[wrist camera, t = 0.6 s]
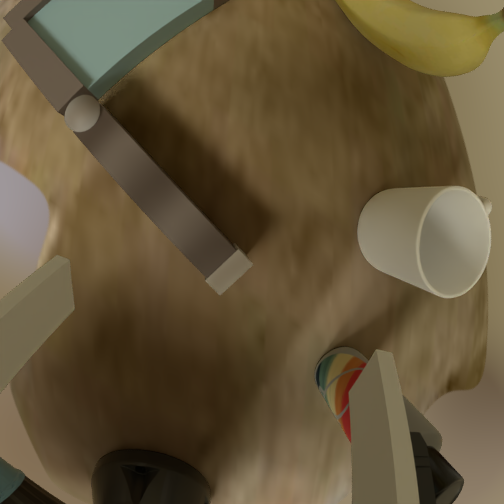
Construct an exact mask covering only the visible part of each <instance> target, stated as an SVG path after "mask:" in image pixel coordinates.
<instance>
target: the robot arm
mask: <svg viewBox="0 0 504 504" xmlns="http://www.w3.org/2000/svg"><path fill="white" fill-rule="evenodd" d="M74 310H75V306H74V298H73V290H72V280H71V269H70V260H69V259H67V258H64V257H62V256H59V255H56V256H55V257H53V258H52V259H51V260H50V261H48V262H47V263H46V264H44V265H43V266H42V267H40V268H39V269H38V270H37V271H35V272H34V273H33V274H32V275H30V276H29V277H28V278H26V279H25V280H24V281H23V282H21V283H20V284H19V285H18V286H16V287H15V288H14V289H13V290H12V291H10V292H9V293H8V294H7V295H6V296H5V297H3V298H2V299H1V300H0V393H1V392H2V391H3V390H4V388H5V387H6V386H7V385H8V383H9V382H10V381H11V380H12V379H13V378H14V376H15V375H16V374H17V373H18V372H19V370H20V369H21V368H22V367H23V366H24V365H25V363H26V362H27V361H28V360H29V359H30V358H31V357H32V355H33V354H34V353H35V352H36V351H37V350H38V349H39V348H40V346H41V345H42V344H43V343H44V342H45V341H46V340H47V339H48V338H49V336H50V335H51V334H52V333H53V332H54V331H55V330H56V329H57V328H58V327H59V326H60V325H61V323H62V322H63V321H64V320H65V319H66V318H67V317H68V316H69V315H70V314H71V313H72V312H73V311H74ZM349 407H350V426H351V452H352V504H436V498H435V491H434V484H433V478H432V472H431V468H430V460H429V459H428V457H429V454H428V449H427V444H426V442H425V440H424V439H423V437H422V435H421V433H420V432H409V426H408V421H407V416H406V411H405V406H404V401H403V396H402V392H401V387H400V382H399V378H398V374H397V370H396V365H395V361H394V357H393V353H392V352H387V351H383V350H378V349H376V350H375V352H374V353H373V355H372V357H371V358H370V360H369V361H368V363H367V365H366V366H365V368H364V369H363V371H362V373H361V374H360V376H359V377H358V379H357V380H356V382H355V383H354V385H353V386H352V388H351V389H350V391H349ZM91 487H92V496H93V504H210V503H211V502H210V488H209V485H208V483H207V481H206V480H205V478H204V477H203V476H202V475H201V474H200V473H199V472H198V471H197V470H195V469H194V468H193V467H191V466H190V465H188V464H186V463H184V462H182V461H180V460H178V459H176V458H173V457H170V456H168V455H164V454H161V453H157V452H152V451H145V450H121V451H116V452H112V453H110V454H107V455H105V456H104V457H102V458H101V459H100V460H99V461H98V463H97V464H96V467H95V469H94V472H93V475H92V479H91ZM0 504H65V503H64V502H62V501H61V500H59V499H58V498H56V497H54V496H53V495H52V494H50V493H49V492H47V491H46V490H44V489H43V488H41V487H40V486H39V485H37V484H36V483H34V482H33V481H32V480H30V479H29V478H28V477H26V476H25V474H24V473H23V472H22V471H21V470H19V469H16V468H14V467H13V466H11V465H10V464H9V463H7V462H6V461H5V460H3V459H2V458H1V457H0Z"/></svg>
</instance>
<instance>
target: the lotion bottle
mask: <svg viewBox="0 0 504 504" xmlns="http://www.w3.org/2000/svg"><path fill="white" fill-rule="evenodd" d="M367 363H368V360H367V359H366V358H365V357H364V356H363V355H362V354H361V353H360V352H359V351H357V350H356V349H353V348H350V347H340V348H336V349H334V350H332V351H330V352H328V353H327V354H326V355H324V356H323V357H322V359H321V360H320V361H319V363H318V364H317V366H316V369H315V382H316V384H317V387H318V388H319V390H320V392H321V394H322V395H323V397H324V399H325V401H326V402H327V404H328V406H329V407H330V409H331V411H332V412H333V414H334V416H335V417H336V419H337V421H338V422H339V424H340V426H341V427H342V429H343V431H344V432H345V434H346V436H347V437H348V439H349V441H350V442H351V426H350V407H349V391H350V389H351V388H352V386H353V385H354V383H355V382H356V380H357V379H358V377H359V376H360V374H361V373H362V371H363V369H364V368H365V366H366V365H367ZM402 396H403V395H402ZM403 401H404V406H405V411H406V416H407V421H408V426H409V432H420V433H421V435H422V437H423V439H424V440H425V442H426V444H427V449H428V454H429V457H428V459H429V460H430V468H431V472H432V478H433V484H434V491H435V498H436V504H452V503H453V502H454V501H455V500H456V498H457V497H458V495H459V493H460V492H461V490H462V487H463V484H464V479H463V478H462V476H461V475H460V474H459V473H458V472H457V471H456V470H455V469H454V468H453V467H452V466H451V464H450V463H449V462H448V461H447V460H446V459H445V458H444V457H443V456H442V455H441V454H440V453H439V451H440V449H441V446H442V437H441V434H440V433H439V431H438V430H437V429H436V428H435V427H434V426H433V425H432V424H431V423H430V422H429V421H428V420H427V419H426V418H425V417H424V416H423V415H422V414H421V413H420V412H419V411H418V410H417V409H416V408H415V407H414V406H413V405H412V404H411V403H410V402H409V401H408V400H407V399H406V398H405V397H404V396H403Z"/></svg>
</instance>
